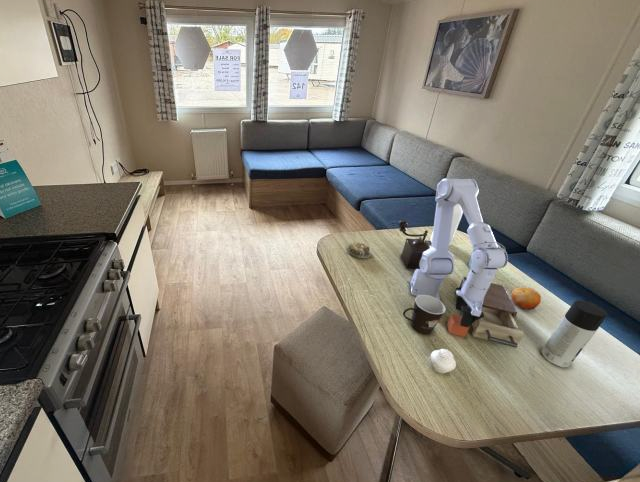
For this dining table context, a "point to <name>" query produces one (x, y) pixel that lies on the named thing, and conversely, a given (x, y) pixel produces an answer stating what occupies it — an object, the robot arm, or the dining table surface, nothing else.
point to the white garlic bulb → (443, 361)
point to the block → (456, 326)
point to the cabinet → (497, 299)
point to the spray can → (573, 333)
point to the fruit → (526, 298)
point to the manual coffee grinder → (413, 247)
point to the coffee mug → (425, 314)
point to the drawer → (497, 328)
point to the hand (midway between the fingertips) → (461, 317)
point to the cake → (359, 250)
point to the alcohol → (454, 221)
